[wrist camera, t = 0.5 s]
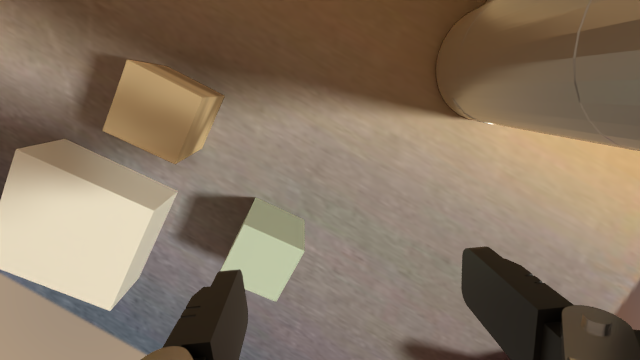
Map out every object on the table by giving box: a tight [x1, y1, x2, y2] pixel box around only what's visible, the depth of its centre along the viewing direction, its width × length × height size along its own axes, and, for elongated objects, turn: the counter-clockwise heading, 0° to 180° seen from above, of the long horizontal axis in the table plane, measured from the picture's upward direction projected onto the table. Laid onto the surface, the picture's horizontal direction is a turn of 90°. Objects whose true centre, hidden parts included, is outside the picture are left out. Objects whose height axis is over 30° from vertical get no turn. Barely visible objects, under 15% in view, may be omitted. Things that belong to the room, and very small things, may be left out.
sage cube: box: [221, 198, 305, 301], centre depth 27 cm, size 5×5×6 cm
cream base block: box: [0, 139, 178, 311], centre depth 27 cm, size 10×10×5 cm
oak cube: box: [102, 60, 224, 164], centre depth 24 cm, size 5×5×6 cm
